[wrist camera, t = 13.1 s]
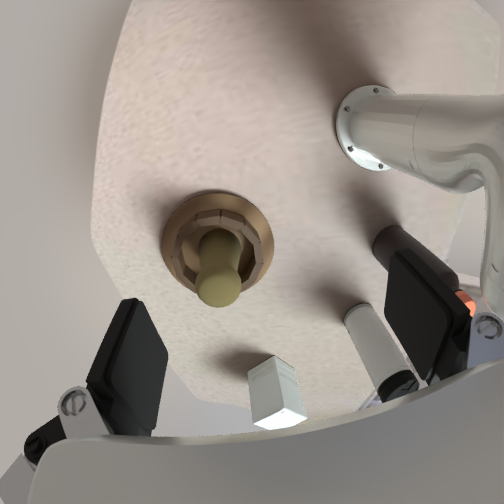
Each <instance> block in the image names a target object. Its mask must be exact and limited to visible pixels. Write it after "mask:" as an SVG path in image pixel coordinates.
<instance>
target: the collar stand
mask: <svg viewBox="0 0 504 504" xmlns="http://www.w3.org/2000/svg"><path fill="white" fill-rule="evenodd" d="M213 229H225V230H229V231H230V232H232V233H234V234H235V235H236V237H237V238H238V239H239V242H240V244H241V253H240V258H239V264H238V270H237V272H238V274H239V276H240V278H241V287H242V288H241V291H240V292H242V291H245V290H247V289H248V288H250V287H252V286H253V285H254V284H256V283H257V282H258V281H259V280H260V279H261V278H262V277H263V276H264V274H265V273H266V272H267V270H268V268H269V266H270V264H271V261H272V258H273V253H274V239H273V234H272V231H271V228H270V226H269V224H268V222H267V220H266V218H265V217H264V215H263V214H262V213H261V212H260V211H259V210H258V208H256V207H255V206H254V205H253V204H251V203H250V202H248V201H247V200H245V199H243V198H240V197H238V196H235V195H231V194H225V193H210V194H204V195H200V196H197V197H195V198H192V199H191V200H189V201H187V202H185V203H184V204H183V205H181V206H180V207H179V208H178V209H177V210H176V211H175V212H174V213H173V215H172V216H171V218H170V219H169V221H168V223H167V225H166V227H165V230H164V233H163V238H162V253H163V257H164V261H165V263H166V266H167V267H168V269H169V271H170V272H171V274H172V275H173V276H174V277H175V278H176V280H177V281H178V282H180V283H181V284H182V285H183V286H185V287H187V288H188V289H190V290H191V291H192V292H193V291H194V293H196V288H195V282H196V277H197V275H198V273H199V272H200V261H199V251H198V245H199V241H200V239H201V238H202V236H203V235H204V234H206V233H207V232H208V231H211V230H213Z"/></svg>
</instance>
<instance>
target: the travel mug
mask: <svg viewBox="0 0 504 504" xmlns="http://www.w3.org/2000/svg"><path fill="white" fill-rule="evenodd" d="M344 325H345V327H346V329H347V331H348V333H349V335H350V337H351V339H352V341H353V343H354V345H355V347H356V349H357V351H358V353H359V355H360V357H361V359H362V361H363V363H364V365H365V368H366V370H367V372H368V374H369V376H370V378H371V380H372V382H373V385H374V387H375V389H376V391H377V393H378V395H379V396H380V399H381V401H382V403H385V402H388V401H391V400H394V399H396V398H399V397H402V396H405V395H407V394H410V393H412V392H415V391H417V390H418V389H419V382H418V380H417V379H416V377H415V376H414V373H413V371H412V369H411V368H410V366H409V364H408V363H407V361H406V359H405V358H404V356H403V354H402V353H401V351H400V349H399V348H398V346H397V345H396V343H395V341H394V340H393V338H392V337H391V335H390V333H389V332H388V330H387V329H386V327H385V326H384V324H383V322H382V321H381V319H380V318H379V316H378V315H377V313H376V312H375V310H374V309H373V307H372V306H371V305H369V304H359V305H356V306H354V307H353V308H351V309H350V310H349V311H348V312H347V314H346V315H345V318H344Z"/></svg>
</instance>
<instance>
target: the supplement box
mask: <svg viewBox="0 0 504 504" xmlns="http://www.w3.org/2000/svg"><path fill="white" fill-rule="evenodd" d="M247 375H248V384H249V393H250V402H251V410H252V419H253V424H255V425H258V426H260V427H263V428H266V429H268V430H273V429H279V428H285V427H291V426H293V425H295V424H297V423H299V422H301V421H303V420H305V419H307V415H306V410H305V406H304V403H303V399H302V395H301V391H300V387H299V384H298V380H297V376H296V372H295V369H294V368H292V367H291V366H289V365H288V364H286V363H285V362H283V361H282V360H280V359H279V358H277V357H276V356H272V357H271V358H269V359H267V360H266V361H264V362H263V363H261V364H259V365H258V366H256V367H254V368H253V369H251V370H250V371H248V372H247Z"/></svg>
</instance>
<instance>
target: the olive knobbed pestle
mask: <svg viewBox="0 0 504 504" xmlns="http://www.w3.org/2000/svg"><path fill="white" fill-rule="evenodd" d="M198 251H199V261H200V272H199V273H198V275H197V277H196V282H195V288H196V293H197V295H198V297H199V298H200V299H201V300H202V301H203V302H204V303H205V304H207V305H209V306H212V307H225V306H228V305H230V304H231V303H233V302H234V301H235V300H236V299H237V298H238V297H239V294H240V291H241V288H242V287H241V278H240V276H239V274H238V272H237V270H238V264H239V258H240V253H241V244H240V242H239V239H238V238H237V237H236V235H235V234H234V233H232V232H230V231H229V230H225V229H213V230H211V231H208V232H207V233H206V234H204V235H203V236H202V238H201V239H200V241H199V245H198Z"/></svg>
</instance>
